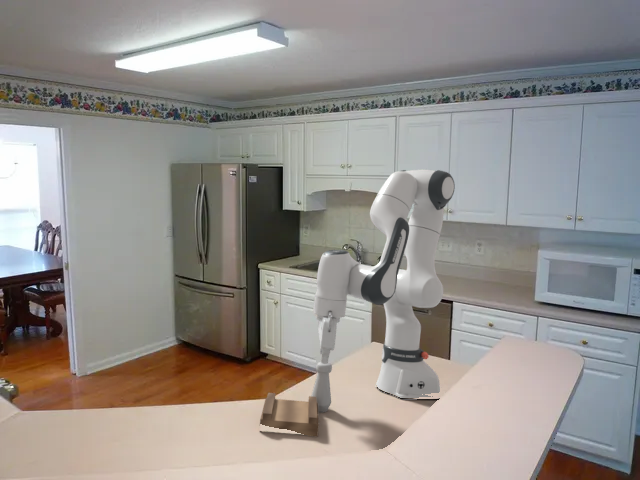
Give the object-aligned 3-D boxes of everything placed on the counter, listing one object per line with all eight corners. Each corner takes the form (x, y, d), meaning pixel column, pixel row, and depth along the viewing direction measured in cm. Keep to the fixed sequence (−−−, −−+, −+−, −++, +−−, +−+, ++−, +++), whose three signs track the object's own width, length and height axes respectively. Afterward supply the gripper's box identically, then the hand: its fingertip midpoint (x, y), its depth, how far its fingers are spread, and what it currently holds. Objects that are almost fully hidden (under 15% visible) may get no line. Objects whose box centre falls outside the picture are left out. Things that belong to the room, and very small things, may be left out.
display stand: (316, 413, 125) (318, 397, 125) (317, 436, 111) (319, 418, 111) (264, 409, 125) (266, 392, 125) (259, 431, 111) (260, 412, 111)
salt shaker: (328, 415, 125) (332, 367, 125) (307, 411, 126) (312, 364, 126) (331, 407, 131) (336, 361, 130) (312, 404, 132) (316, 358, 131)
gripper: (343, 316, 117) (337, 370, 117) (338, 304, 138) (333, 350, 138) (319, 313, 117) (312, 367, 117) (317, 301, 138) (311, 348, 138)
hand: (323, 358), depth 128 cm, fingers open, 8 cm apart
